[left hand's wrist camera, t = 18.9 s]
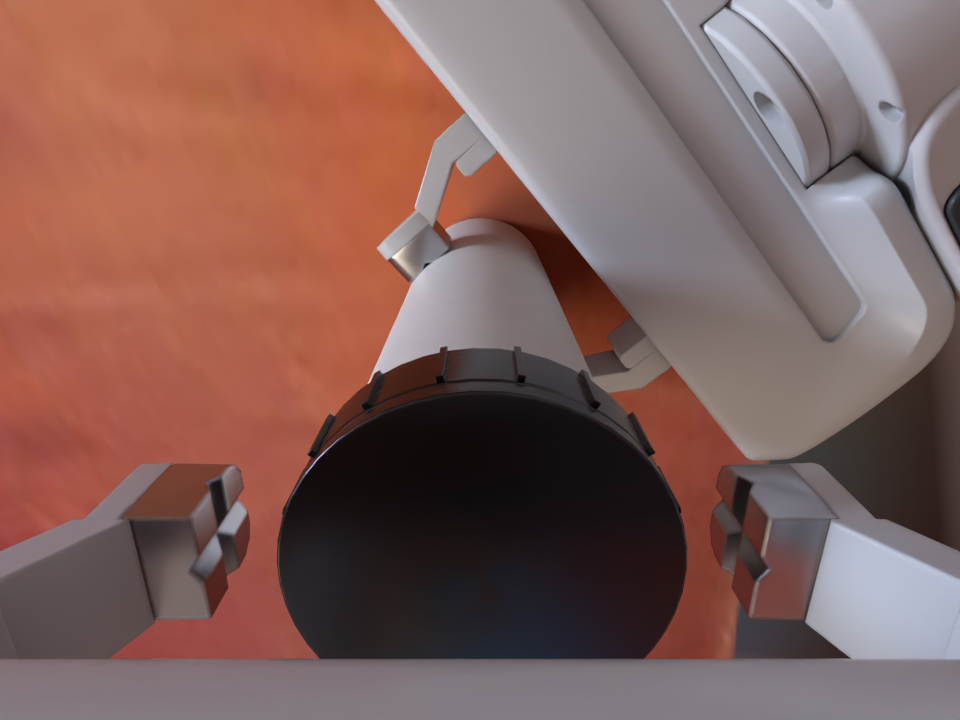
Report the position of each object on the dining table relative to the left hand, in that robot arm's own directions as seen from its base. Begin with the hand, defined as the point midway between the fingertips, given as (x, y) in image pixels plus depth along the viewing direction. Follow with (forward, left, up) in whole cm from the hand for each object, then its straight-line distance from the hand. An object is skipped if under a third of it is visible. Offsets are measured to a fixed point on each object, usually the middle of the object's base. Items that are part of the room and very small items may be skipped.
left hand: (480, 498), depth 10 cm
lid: (0, 0, +2) cm, 2 cm away
